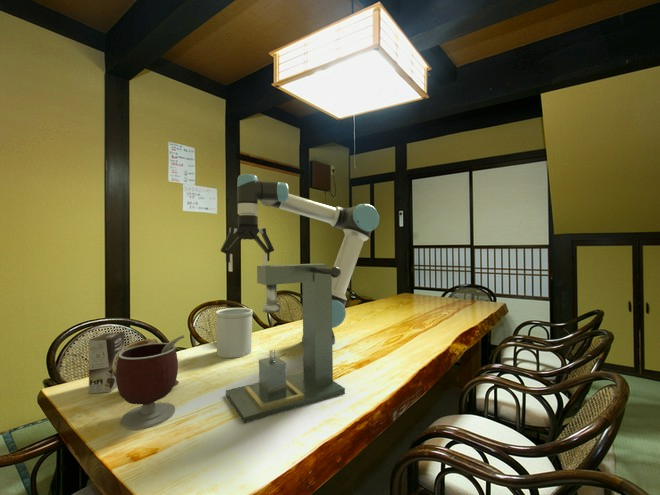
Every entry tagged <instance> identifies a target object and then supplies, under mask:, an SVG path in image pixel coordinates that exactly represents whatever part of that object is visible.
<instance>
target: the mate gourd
mask: <svg viewBox="0 0 660 495" xmlns="http://www.w3.org/2000/svg"><path fill="white" fill-rule="evenodd" d="M184 338H185V335H184V334H182V335H180V336H178V337H176V338H174V339H172V340H170V341H169V342H159V343H152V344H144V345H139V346H135V347H131V348H128V349H126V350H123V351H122V352H120V353H119V355H118V356H119V358H118V361H117V367H116V383H117V387H116V388H117V391H118V394H119V396H120V397H121V398H122V399H123V400H124V401H125V402H126V403H127V404H131V405H139V406H137V407H135V408H133V409H131V410H129V411H126V413H124V414H123V415H122V417H121V418H120V426H121V427H122V428H124V429H126V430H134V431H135V430H143V429H148V428H152V427H156V426H158V425H161V424H162V423H164V422H166V421H168V420H169V419H171V418H172V417H173V416H174V414H175V412H176V408H175V405H173V403H170V402H165V401H162V402H157V401H160V400H162V399H164V398H165V397H167V396H168V395H169V394H170V393H171V391H172V390H173V388H174V387H175V386H174V385H175V383H176V380H177V378H178V371H179V361H178V360H179V359H178V355H177V354H178V353H177V350H176V345H175V344H176V343H178V342H179V341H180V340H182V339H184Z"/></svg>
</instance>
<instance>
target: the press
mask: <svg viewBox="0 0 660 495" xmlns="http://www.w3.org/2000/svg"><path fill="white" fill-rule="evenodd" d="M340 274H341V270H340V268H338V267H333V266H332V267H330V268H329V265H328V263H301V264H300V263H295V264H293V263H291V264H271V265H269V264H267V266H263V265H257V266H256V276H257V277H256V282H257V284H261V285H265V296H266V297H265V298H266V301H265V303H263V304H262V313H264V314H265V313H266V314H268V313H269V314H272V313H273V314H275V313H279V312H281V303H279V302H278V294H277V293H278V291H277V290H278V288H277V285H283V284H285V285H287V284H299V283H301V285H302V287H301V288H302V289H301V290H302V336H303V344H302V349H303V350H302V353H303V354H302V355H303V357H302V358H303V359H302V361H303V363H302V364H303V365H302V366H303V371H301V372H298V373H293V374H289V375H286V395H284V396H280V397H277V398H273V399H269V400H268V399H267V398H266V397H265V396H264V395H263V394H262V393H261V392H260V391H259V382H255V383H251V384H248V385H244V386H243V385H242V386H239V387H235V388H231V389H227V390H225V396H226V398H227V399H228V401H229V402H230V405H231V406H232V407H233V409H234V410H235V411H236V414H238V416H239V417H240V419H241V421H242V422H243V423H244V424H247V423H248V424H249V423H250V422H254V421H257V420H261V419H265V418H268V417H270V416H274V415H277V414H280V413H281V414H282V413H284V412H287V411H291V410H293V409H297V408H301V407H305V406H308V405H310V404H314V403H318V402H321V401H323V400H327V399H331V398H333V397H337V396H340V395H341V396H342V395H344V394H346V392H345V391H346V388H345V387H344V386H342V385H340V384H339V383H337V382H336V381H334V377H333V376H334V372H333V370H334V369H333V368H334V367H333V366H334V363H333V360H334V359H333V353H334V352H333V351H334V350H333V345H332V330H333V328H332V277H334V278H337V277H339V276H340Z"/></svg>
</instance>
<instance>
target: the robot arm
mask: <svg viewBox="0 0 660 495" xmlns="http://www.w3.org/2000/svg"><path fill="white" fill-rule="evenodd" d="M236 188H237V191H236V192H237V194H236V196H237V215H238V216H237V228H236V227H235V228H234V227H233V226H232V227H229V229H228V234H227V236H226V238H225V240H224V242H223V244H222V245H221V248H220V252H221V253H224V254H225V262H226V263H228V272H230V273H231V272H233V269H234V268H233V253H232V251H233V250H234V249H235V248H236V247H237V246H238V244H239V243H240V242H241V241H242V240H249V241H251V240H254V241H255V242H256V244H257V245H258V246H259V247H260V248H261V249H262V250H263V252H264V253H262V266H267V265H268V262H270V261H271V260H270V255H271V254H270V253H272V252H274V251H275V249H274V247H273V244H272V243H271V240H270V238H269V236H268V233H267V229H266V227H262V228H259V218H258V217H259V216H258V214H259V211H258V210H259V208H258V206H259V204H258V201H259V202H260V204H261V205H262V206H264V207H272V208H275V209H280V210H283V211H286V212H289V213H293V214H297V215H299V216H303V217H307V218H310V219H315V220H318V221H321V222H324V223H326V224H327V223H328V224H330V226H331V227H334V228H337V229H340V230H341V231H343V232H344V233H343V234H344V237H343V240H342V243H341V245H340V248H339V250H338V253H337V255H336V259H335V262H334V264H333V266H332V267H338V268H340V270H341V274H340V276H339V277H337V278H334V277H332V346H333V345H334V344H336V337H335V333H334V330H333V329H334V328H337V327H339V326H341V325H342V324H343V322H344V321H345V320H346V319H345V318H346V315H347V312H346V311H347V310H346V307H345V306H346V303H347V300H348V298H347V296H346V293H347V291H348V290H347V289H348V287H349V285H350V281H351V278H352V276H353V274H354V270H355V268H356V265H357V262H358V259H359V256H360V254H361V250H362V248H363V246H364V242H366V241H368V240H369V239H370V236H371V233H372V231H374V230H375V229H377V227H378V226H379V223H380V215H379V213H378V211H377V209H376V208H375V207H374V206H373V205H371V204H369V203H360V204H357V205H356V206H355V205H354V206H352V207H341V206H336V207H334V206H331V205H327V204H324V203H320V202H318V201H314V200H311V199H309V198H304V197H301V196H299V195H294V194H291V193H289V191H290V190H289V185H288V183H287V182H280V181H262V180H259V179H258V175H255V174H249V173H244V174H239V175H238V177H237V187H236ZM236 233H237V234H238V236H237V237H236V238H235V239H234V241H233V242H232V243H231V241H232V238H233V236H234V234H236ZM259 233H260V235H261V237H262V239H263V240H264V242H265V243H264V242H263V241H262V240H261V238H260V237H259V235H258V234H259ZM229 244H230V246H229ZM301 344H302V345H303V335H302V337H301Z"/></svg>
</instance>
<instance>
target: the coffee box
mask: <svg viewBox="0 0 660 495" xmlns="http://www.w3.org/2000/svg"><path fill="white" fill-rule="evenodd" d="M124 348H125V332H122V331H121V332H120V331H119V332H118V331H117V332H107V333H102V334H100V335H98V336H96V337H94V338H93V337H92V339H90V340H88V394H98V393H99V394H102V393H111V392H113V391H114V390H115V389H116V388H117V383H116V367H117V361H118V358H119V356H118V355H119V353H120V352H122V351H123V350H124Z"/></svg>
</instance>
